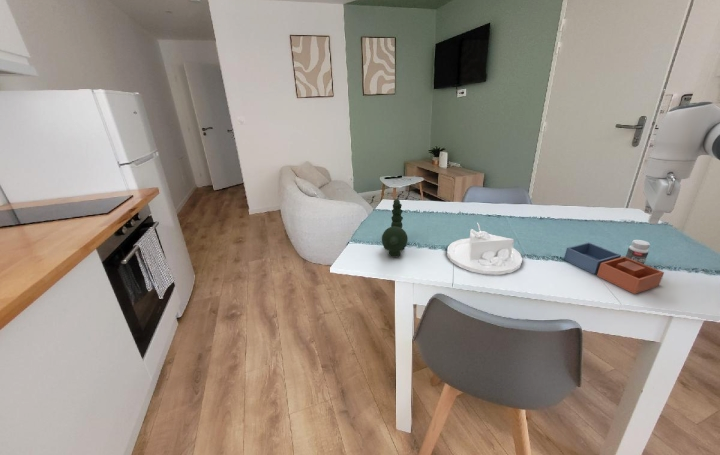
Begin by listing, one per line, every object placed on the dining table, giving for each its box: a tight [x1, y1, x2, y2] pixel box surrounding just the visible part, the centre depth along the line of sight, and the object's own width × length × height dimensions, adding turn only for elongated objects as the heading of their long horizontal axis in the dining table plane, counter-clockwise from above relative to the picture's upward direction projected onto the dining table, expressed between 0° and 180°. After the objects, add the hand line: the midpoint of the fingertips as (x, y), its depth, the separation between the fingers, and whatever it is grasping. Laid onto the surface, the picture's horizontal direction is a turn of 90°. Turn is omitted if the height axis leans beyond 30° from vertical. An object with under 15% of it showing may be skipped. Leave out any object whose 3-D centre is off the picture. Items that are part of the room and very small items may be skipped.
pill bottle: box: [625, 239, 651, 265], centre depth 93 cm, size 5×5×8 cm
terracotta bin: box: [596, 256, 665, 295], centre depth 86 cm, size 10×10×5 cm
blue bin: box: [563, 241, 622, 275], centre depth 96 cm, size 10×10×5 cm
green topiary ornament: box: [381, 198, 409, 258], centre depth 110 cm, size 9×19×25 cm
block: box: [616, 261, 645, 279], centre depth 86 cm, size 4×4×4 cm
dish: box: [446, 222, 523, 276], centre depth 102 cm, size 25×25×11 cm
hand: (649, 217), depth 82 cm, fingers open, 8 cm apart
